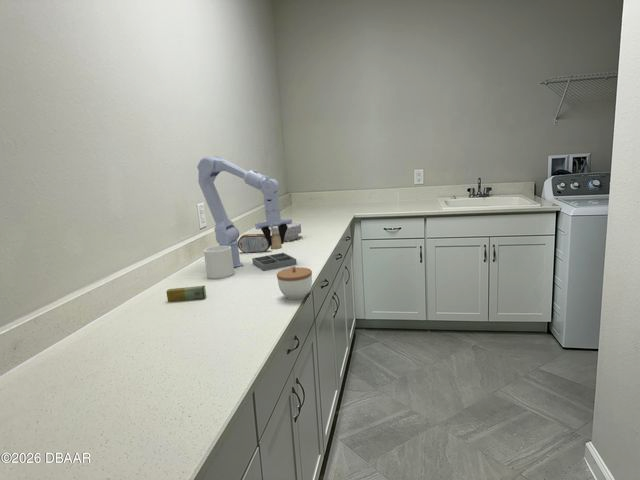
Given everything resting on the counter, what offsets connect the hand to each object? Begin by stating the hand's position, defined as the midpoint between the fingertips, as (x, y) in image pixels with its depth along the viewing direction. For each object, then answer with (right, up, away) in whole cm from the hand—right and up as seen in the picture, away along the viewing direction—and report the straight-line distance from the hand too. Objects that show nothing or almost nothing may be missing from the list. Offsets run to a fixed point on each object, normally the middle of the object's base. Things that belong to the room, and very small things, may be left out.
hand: (275, 244), depth 168 cm
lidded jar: (+10, -16, -36) cm, 41 cm away
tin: (-12, -4, +27) cm, 30 cm away
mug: (-20, -11, -5) cm, 23 cm away
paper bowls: (+1, +2, +50) cm, 50 cm away
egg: (0, -1, 0) cm, 1 cm away
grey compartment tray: (-1, -8, +4) cm, 9 cm away
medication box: (-25, -18, -31) cm, 44 cm away
